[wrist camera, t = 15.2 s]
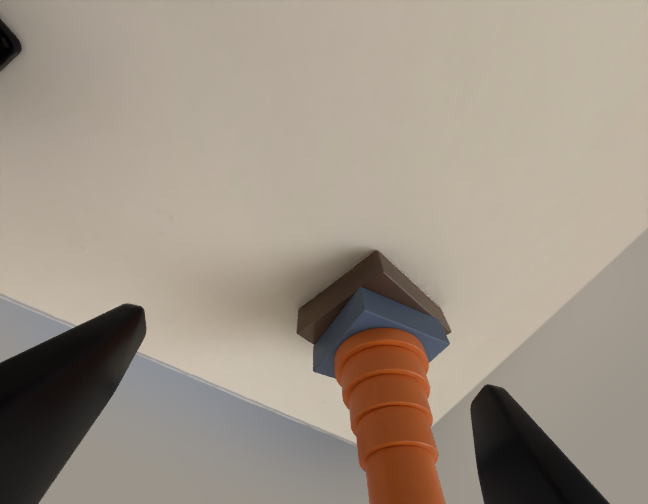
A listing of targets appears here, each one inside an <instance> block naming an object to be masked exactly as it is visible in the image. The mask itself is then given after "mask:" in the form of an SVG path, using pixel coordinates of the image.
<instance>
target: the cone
mask: <svg viewBox="0 0 648 504" xmlns="http://www.w3.org/2000/svg"><path fill="white" fill-rule="evenodd" d="M428 367H429V363H428V358H427V355H426V353H425V350H424V347H423V345H422V343H421V342H420V341H419V339H418V338H416V337H415V336H414V335H412V334H411V333H409V332H406V331H404V330H400V329H395V328H374V329H369V330H365V331H362V332H359V333H357V334H355V335H353V336H351V337H349V338H348V339H346V340H345V341H344V342H343V343H342V344H341V345H340V346H339V348H338V349H337V351H336V353H335V357H334V369H335V377H336V380H337V382H338V383H339V385H340V386H341V387H342V396H343V401H344V404H345V405H346V407H347V408H348V409H349V410H350V421H351V429H352V431H353V433H354V434H355V435H356V437H357V447H358V456H359V464H360V466H361V468H362V469H363V470H364V471H366V476H367V485H368V494H369V503H370V504H446V503H445V499H444V496H443V492H442V488H441V485H440V481H439V477H438V474H437V470H436V466H435V463H436V462H437V460H438V451H437V448H436V444H435V441H434V437H433V434H432V430H431V425H432V422H433V417H432V413H431V410H430V407H429V403H428V400H427V399H428V397H429V394H430V386H429V383H428V380H427V376H426V374H427V371H428Z"/></svg>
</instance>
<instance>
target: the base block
mask: <svg viewBox="0 0 648 504" xmlns="http://www.w3.org/2000/svg"><path fill="white" fill-rule="evenodd" d="M359 287H363V288H366V289H368V290H370V291H373V292H375V293H377V294H380V295H382V296H385V297H387V298H389V299H392V300H394V301H396V302H399V303H401V304H404V305H406V306H408V307H411V308H413V309H415V310H418V311H420V312H423V313H425V314H427V315H430V316H432V317H434V318H437V319H439V320H440V322H441V324H442V327H443V329H444V331H445V334H446V335H448V334H449V333H451V330H450V327H449V325H448V323H447V321H446V319H445V316H444V314H443V312H442V310H441V309H440V308H439V307H438V306H437V305H436V304H435V303H434V302H433V301H432V300H431V299H430V298H429V297H427V296H426V295H425V294H424V293H423V292H422V291H421V290H420V289H419V288H418V287H417V286H416V285H414V284H413V283H412V282H411V281H410V280H409V279H408V278H407V277H406V276H405V275H404V274H403V273H402V272H400V271H399V270H398V269H397V268H396V267H395V266H394V265H393V264H392V263H391V262H390V261H389V260H388V259H386V258H385V257H384V256H383V255H382V254H381V253H380V252H379V251H376V252H374V253H373V254H372V255H370V256H369V257H368V258H366V259H365V260H364V261H362V262H361V263H360V264H359V265H357V266H356V267H355V268H353V269H352V270H351V271H349V272H348V273H347V274H345V275H344V276H343V277H341V278H340V279H339V280H337V281H336V282H335V283H334V284H332V285H331V286H330V287H328V288H327V289H326V290H324V291H323V292H322V293H320V294H319V295H318V296H316V297H315V298H314V299H312V300H311V301H310V302H309V303H307V304H306V305H305V306H303V307H302V308H301V309H299V310H298V323H297V334H299V335H300V336H302V337H303V338H305V339H306V340H308V341H309V342H311V343H312V344H314V345H315V344H316V342H317V341H318V340H319V339H320V337H321V336H322V335H323V333H324V332H325V331H326V330H327V328H328V327H329V326H330V324H331V323H332V322H333V321H334V319H335V318H336V317H337V316H338V314H339V313H340V312H341V310H342V309H343V308H344V307H345V305H346V304H347V303H348V301H349V300H350V299H351V298H352V296H353V295H354V294H355V292H356V291H357V290H358V289H359Z"/></svg>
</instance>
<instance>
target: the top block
mask: <svg viewBox="0 0 648 504" xmlns="http://www.w3.org/2000/svg"><path fill="white" fill-rule="evenodd" d="M374 328H395V329H400V330H404V331H406V332H409V333H411V334H412V335H414V336H415V337H416V338H418V339H419V341H420V342H421V343H422V345H423V347H424V350H425V353H426V355H427V358H428V363H429V362H430V361H432V360H433V359H434V358H435V357H436V356H437V355H438V354H439V353H441V352H442V351H443V350H444V349H445V348H446V347H447V346H448V345H449V344H450V343H449V341H448V338H447V336H446V334H445V331H444V329H443V327H442V324H441V322H440V320H439V319H437V318H434V317H432V316H430V315H427V314H425V313H423V312H420V311H418V310H415V309H413V308H411V307H408V306H406V305H404V304H401V303H399V302H396V301H394V300H392V299H389V298H387V297H385V296H382V295H380V294H377V293H375V292H373V291H370V290H368V289H366V288H363V287H359V289H358V290H357V291H356V292H355V294H354V295H353V296H352V298H351V299H350V300H349V301H348V303H347V304H346V305H345V307H344V308H343V309H342V310H341V312H340V313H339V314H338V316H337V317H336V318H335V319H334V321H333V322H332V323H331V324H330V326H329V327H328V328H327V330H326V331H325V332H324V333H323V335H322V336H321V337H320V339H319V340H318V341H317V342H316V344H315V345H314V347H313V371H314V372H317V373H320V374H323V375H326V376H329V377H332V378H335V379H336V377H335V369H334V357H335V353H336V351H337V349H338V348H339V346H340V345H341V344H342V343H343V342H344V341H345V340H346V339H348V338H349V337H351V336H353V335H355V334H357V333H359V332H362V331H365V330H369V329H374Z"/></svg>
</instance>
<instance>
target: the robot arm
mask: <svg viewBox="0 0 648 504" xmlns="http://www.w3.org/2000/svg"><path fill="white" fill-rule="evenodd" d="M3 38H5V39H6V41H7V42H8V45H9V47H7V46H6V45H5V44H4V43H3ZM20 52H21V44H20V42H19V40H18V39H17V37H16V36H15V35H14V34H13V33H12V32H11V30H10V29H9V28H8V27H7V26H6V25H5V24H4V23H3V22H2V21H1V20H0V71H1V70H3V69H4V68H5V67H6V66H7V65H8V64H9V63H10V62H11V61H12V60H13V59H14V58H15V57H16V56H17V55H19V54H20ZM145 335H146V320H145V312H144V309H143V307H141V306H138V305H133V304H123V305H121V306H119V307H116V308H114V309H112V310H110V311H108V312H106V313H104V314H102V315H100V316H98V317H95V318H93V319H91V320H89V321H87V322H85V323H83V324H81V325H79V326H77V327H74V328H72V329H70V330H68V331H66V332H64V333H62V334H60V335H58V336H56V337H53V338H51V339H49V340H47V341H45V342H43V343H41V344H39V345H37V346H35V347H33V348H30V349H28V350H26V351H24V352H22V353H20V354H18V355H16V356H14V357H11V358H9V359H7V360H5V361H3V362H1V363H0V504H38V503H39V502H40V500H41V499H42V497H43V496H44V494H45V493H46V491H47V490H48V489H49V487H50V485H51V484H52V483H53V481H54V480H55V478H56V477H57V475H58V474H59V473H60V471H61V470H62V468H63V467H64V465H65V464H66V462H67V461H68V459H69V458H70V457H71V455H72V454H73V452H74V451H75V449H76V448H77V447H78V445H79V444H80V442H81V441H82V439H83V438H84V436H85V435H86V433H87V432H88V431H89V429H90V427H91V426H92V425H93V423H94V422H95V420H96V419H97V417H98V416H99V415H100V413H101V411H102V410H103V409H104V407H105V406H106V404H107V403H108V401H109V400H110V398H111V397H112V395H113V394H114V392H115V390H116V388H117V387H118V385H119V383H120V381H121V380H122V378H123V376H124V374H125V372H126V370H127V369H128V367H129V365H130V363H131V361H132V359H133V358H134V356H135V354H136V352H137V350H138V349H139V347H140V345H141V343H142V341H143V339H144V337H145ZM471 420H472V429H473V437H474V445H475V454H476V463H477V469H478V476H479V481H480V486H481V490H482V495H483V500H484V504H610V503H609V502H608V501H607V500H606V499H605V498H604V497H603V496H602V495H601V493H600V492H598V490H597V489H596V488H595V487H594V486H593V485H592V484H591V483H590V482H589V480H588V479H587V478H586V477H585V476H584V475H583V474H582V473H581V472H580V471H579V470H578V468H577V467H576V466H575V465H574V464H573V463H572V462H571V461H570V460H569V459H568V457H567V456H566V455H565V454H564V453H563V452H562V451H561V450H560V449H559V448H558V447H557V445H556V444H554V442H553V441H552V440H551V439H550V438H549V437H548V436H547V435H546V434H545V433H544V431H543V430H542V429H541V428H540V427H539V426H538V425H537V424H536V423H535V421H534V420H533V419H532V418H531V417H530V416H529V415H528V414H527V413H526V412H525V411H524V410H523V408H522V407H521V406H520V405H519V404H518V403H517V402H516V401H515V400H514V399H513V398H512V396H510V395H509V393H508V392H507V391H506V390H505V389H504V388H502V387H498V386H494V385H489V384H487V385H485V386H484V387H483V388H482V389H481V391H480V392H479V393H478V395H477V396H476V397H475V398H474V400H473V401H472V404H471Z"/></svg>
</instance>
